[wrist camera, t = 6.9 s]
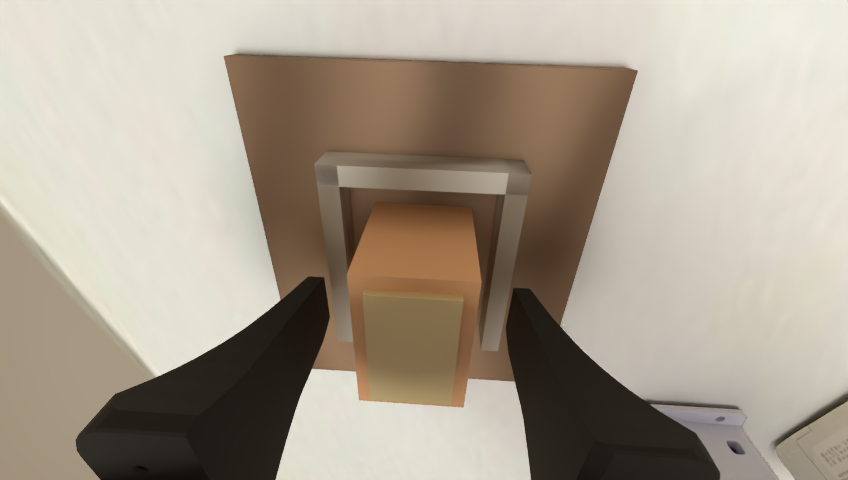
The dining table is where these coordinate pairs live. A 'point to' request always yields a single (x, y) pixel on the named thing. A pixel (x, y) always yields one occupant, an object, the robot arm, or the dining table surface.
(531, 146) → the end holder
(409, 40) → the dining table surface
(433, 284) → the connector plug
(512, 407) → the dining table surface
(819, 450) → the photo printer
